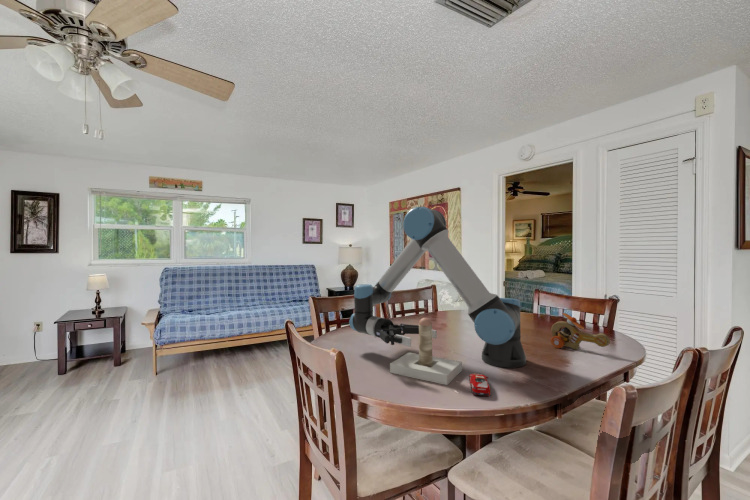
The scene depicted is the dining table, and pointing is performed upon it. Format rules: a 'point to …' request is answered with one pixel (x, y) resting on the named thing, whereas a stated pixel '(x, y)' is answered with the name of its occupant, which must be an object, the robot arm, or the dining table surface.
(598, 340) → the toy helicopter
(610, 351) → the dining table surface
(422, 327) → the round-tipped rod
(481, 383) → the race car
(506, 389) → the dining table surface
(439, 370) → the block
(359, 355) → the dining table surface
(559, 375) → the dining table surface
